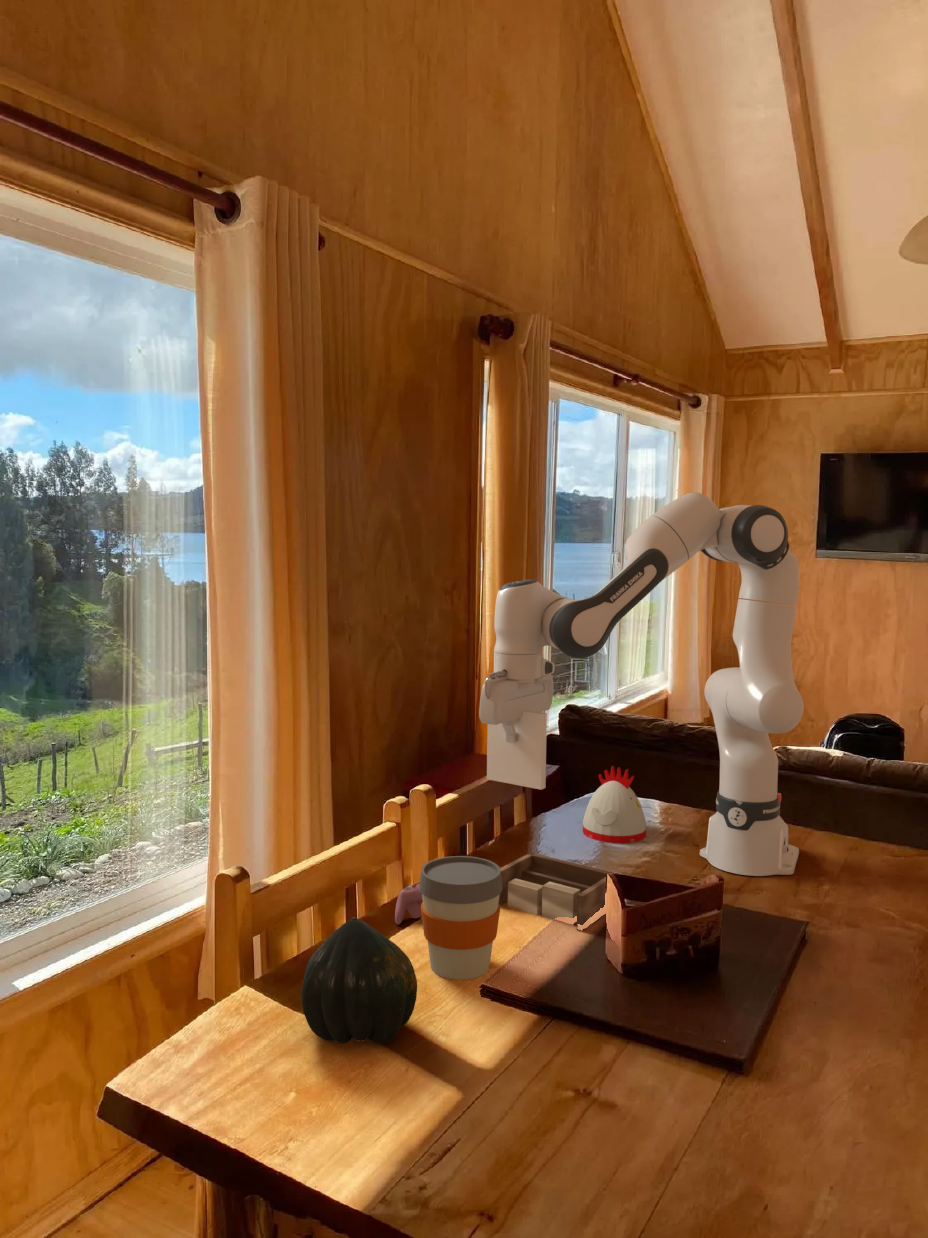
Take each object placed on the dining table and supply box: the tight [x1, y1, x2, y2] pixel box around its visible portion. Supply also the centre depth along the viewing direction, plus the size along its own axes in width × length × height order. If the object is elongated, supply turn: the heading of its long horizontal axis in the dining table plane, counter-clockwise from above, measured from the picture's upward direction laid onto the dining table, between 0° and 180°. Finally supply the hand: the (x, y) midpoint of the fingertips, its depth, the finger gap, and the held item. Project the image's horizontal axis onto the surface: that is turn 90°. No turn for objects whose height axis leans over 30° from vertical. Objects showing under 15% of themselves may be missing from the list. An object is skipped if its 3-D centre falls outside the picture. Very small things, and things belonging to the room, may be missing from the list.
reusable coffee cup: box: [418, 855, 502, 981], centre depth 139 cm, size 13×13×15 cm
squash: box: [300, 916, 418, 1045], centre depth 121 cm, size 14×15×15 cm
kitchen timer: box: [582, 765, 647, 844], centre depth 203 cm, size 14×14×15 cm
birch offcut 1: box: [507, 878, 542, 916], centre depth 161 cm, size 2×6×4 cm, turn 54°
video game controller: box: [394, 883, 423, 926], centre depth 156 cm, size 10×5×7 cm, turn 85°
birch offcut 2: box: [541, 882, 580, 921], centre depth 157 cm, size 2×6×6 cm, turn 54°
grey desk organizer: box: [498, 852, 619, 925], centre depth 162 cm, size 13×18×6 cm
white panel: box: [486, 710, 548, 790], centre depth 172 cm, size 2×12×14 cm, turn 54°
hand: (516, 740), depth 171 cm, fingers closed on white panel, 2 cm apart
